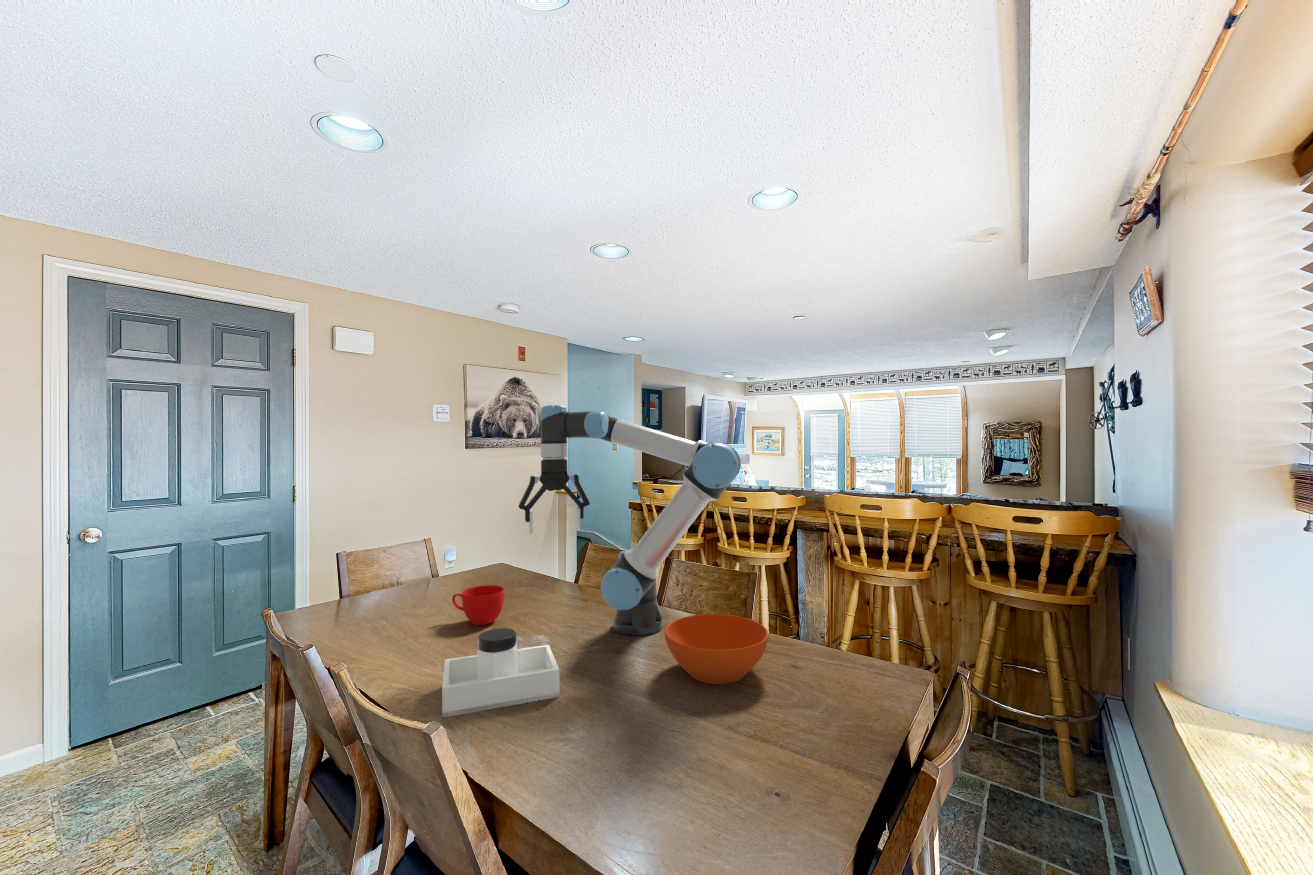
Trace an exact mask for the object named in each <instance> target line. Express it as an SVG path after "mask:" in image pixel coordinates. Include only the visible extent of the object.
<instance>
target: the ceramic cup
mask: <svg viewBox="0 0 1313 875" xmlns="http://www.w3.org/2000/svg"><path fill="white" fill-rule="evenodd" d="M457 596H458V597H460V598H461V604H462V606H461V605H459V604H458V602H457V600H456V597H457ZM451 600H452V604H453V605H454V607H456V608H457V609H458V610H460V611H463V612H464V615H465V616H466V618H467V620H468V621H469V622H471V623H472V625H473V624H474V625H473V626H478V625H482V626H487V625H486V624H488V625H490V624H489V623H491V624H493V623H494V622H495V621H496V620H497V618H498V617H499V616H500V614H501V612H502V610H503V607H504V601H505V588H504V587H503V586H500V585H493V584H491V585H489V584H488V585H478V586H472V587H469V588H466V589H464V590H463V591H462V592H461V593H459V592H458V593H457V592H456V593H455V594H454V595H452V598H451ZM492 622H493V623H492Z"/></svg>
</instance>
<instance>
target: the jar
mask: <svg viewBox="0 0 1313 875" xmlns="http://www.w3.org/2000/svg"><path fill="white" fill-rule="evenodd" d="M517 649H518V641H517V632H516V631H515V629H512V628H506V627H504V628H503V627H502V628H500V627H499V628H494V629H489V630H486V631H485V630H484V632H481V633H480V634H479V635H478V649H477V655H478V681H479V680H485V679H491V678H498V677H504V676H510V675H516V674H517Z"/></svg>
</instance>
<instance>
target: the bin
mask: <svg viewBox="0 0 1313 875" xmlns="http://www.w3.org/2000/svg"><path fill="white" fill-rule="evenodd" d="M443 666H444V668H443V677H442V685H441V686H442V687H441V704H442V705H441V714H442V715H441V716H442V719H444V717H445V718H449V717H455V716H461V715H462V716H463V715H466V714H472V713H477V712H482V711H484V712H485V711H488V710H489V711H490V710H493V709H495V710H496V709H500V708H506V707H511V706H515V705H521V704H528V703H533V701H534V702H538V700H540V701H543V700H544V701H545V700H551V699H556V698H560V697H561V694H560V692H561V690H560V689H561V687H560V668H559V665H558V663H557V661H556V659H555V656H554V654H553V651H552V649H551V647H550V645H549V644H544V645H537V646H529V647H523V648H517V674H516V675H510V676H504V677H498V678H491V679H485V680H479V681H478V654H474V655H468V656H461V657H454V658H447V659H444V665H443ZM527 702H528V703H527Z"/></svg>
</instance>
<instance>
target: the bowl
mask: <svg viewBox="0 0 1313 875" xmlns="http://www.w3.org/2000/svg"><path fill="white" fill-rule="evenodd" d="M664 638H665V642H666V645H667V647H668V650H669V652H670V653H671V655H672V657H673V658H674V660H676V662H677V663H678V664H679V665H680V666H681V668H683V669H684V670H685V672H686V673H687V674H689V676H690V677H692V678H693V679H695V680H696V681H699V682H702V683H704V684H705V683H706V684H711V685H727V684H732V683H736V682H738V681H740V680H742V679H743V678H744V677H745V676H746V675H747V674H748V673H749V672H750V671H751V670H752V669H753V668H754V667H756V665H757V664H758V663H759V661H760V660H761V659H762V657H763V655H764V653H765V651H766V648H767V647H768V646H767V645H768V642H769V632H768V630H767V627H766V626H764V625H763V624H761V623H760V622H758V621H756V620H753V619H751V618H748V617H744V616H740V615H739V616H738V615H733V614H726V613H703V614H702V613H700V614H694V615H693V614H692V615H689V616H688V615H687V616H683V617H680V618H677V619H675V620H673V621H671V622H670V623H669V624H667V626H666V627H665V628H664Z"/></svg>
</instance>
